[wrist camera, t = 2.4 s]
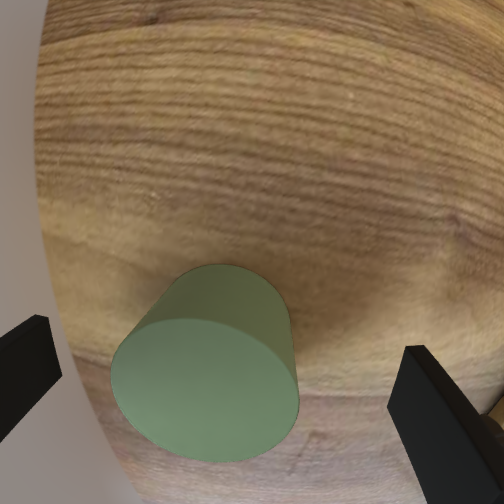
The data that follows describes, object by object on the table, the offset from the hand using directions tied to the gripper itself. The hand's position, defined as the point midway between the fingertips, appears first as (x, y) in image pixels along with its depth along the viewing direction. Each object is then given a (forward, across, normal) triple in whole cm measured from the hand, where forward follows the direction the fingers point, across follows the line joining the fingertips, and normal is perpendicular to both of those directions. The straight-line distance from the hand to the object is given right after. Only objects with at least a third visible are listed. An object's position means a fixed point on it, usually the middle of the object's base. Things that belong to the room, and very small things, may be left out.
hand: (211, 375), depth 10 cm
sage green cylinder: (+3, 0, 0) cm, 3 cm away
